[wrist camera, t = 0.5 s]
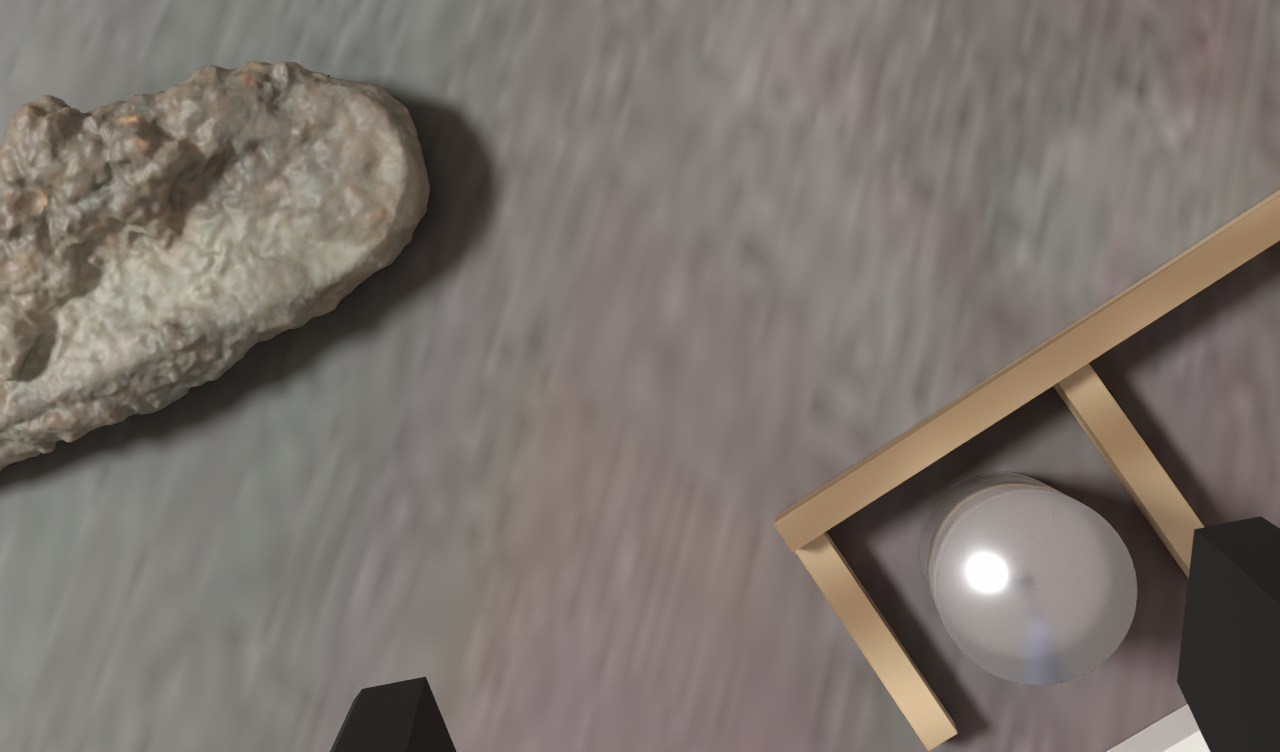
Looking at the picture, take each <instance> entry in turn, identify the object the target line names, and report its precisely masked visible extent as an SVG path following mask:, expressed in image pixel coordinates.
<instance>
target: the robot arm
mask: <svg viewBox="0 0 1280 752" xmlns="http://www.w3.org/2000/svg"><path fill="white" fill-rule="evenodd" d="M1177 682H1178V684H1179V686H1180V689H1181V691H1182V693H1183V695H1184V697H1185V699H1186V701H1187V704H1188V706H1189V708H1190V710H1191V712H1192V714H1193V717H1194V719H1195V721H1196V723H1197V725H1198V727H1199V729H1200V732H1201V734H1202V736H1203V738H1204V740H1205V742H1206V744H1207V746H1208V748H1209V750H1210V752H1280V529H1279V528H1278V527H1276V526H1275V525H1273V524H1272V523H1270V522H1268V521H1267V520H1265V519H1264V518H1262V517H1256V518H1251V519H1245V520H1240V521H1235V522H1230V523H1224V524H1219V525H1214V526H1209V527H1204V528H1198V529H1194V535H1193V544H1192V553H1191V562H1190V571H1189V580H1188V589H1187V598H1186V607H1185V616H1184V625H1183V634H1182V643H1181V652H1180V661H1179V670H1178V679H1177ZM330 752H456V750H455V747H454V745H453V742H452V740H451V737H450V735H449V733H448V730H447V728H446V725H445V723H444V720H443V718H442V715H441V713H440V711H439V708H438V706H437V703H436V701H435V698H434V696H433V694H432V691H431V689H430V686H429V684H428V681H427V679H426V677H422V678H417V679H412V680H406V681H401V682H396V683H391V684H386V685H380V686H375V687H370V688H365V689H362V690H361V691H360V693H359V694H358V695H357V697H356V698H355V699H354V701H353V703H352V705H351V708H350V710H349V712H348V714H347V716H346V718H345V721H344V723H343V725H342V727H341V729H340V731H339V733H338V736H337V738H336V740H335V742H334V744H333V746H332V748H331V751H330Z"/></svg>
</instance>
